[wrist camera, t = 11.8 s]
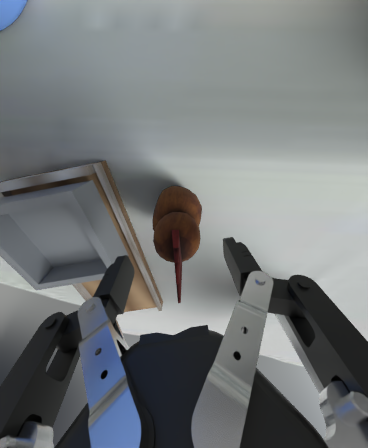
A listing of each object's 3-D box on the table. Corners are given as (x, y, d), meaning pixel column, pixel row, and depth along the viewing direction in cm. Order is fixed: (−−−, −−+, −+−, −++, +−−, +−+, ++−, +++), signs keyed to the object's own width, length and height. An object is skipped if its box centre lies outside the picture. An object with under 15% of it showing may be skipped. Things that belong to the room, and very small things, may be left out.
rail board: (105, 160, 20) (94, 164, 17) (162, 301, 35) (161, 314, 33) (6, 180, 20) (-19, 186, 18) (105, 310, 36) (99, 323, 33)
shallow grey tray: (99, 176, 19) (71, 190, 14) (131, 248, 25) (120, 276, 20) (12, 193, 20) (-45, 213, 15) (64, 259, 26) (36, 290, 21)
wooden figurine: (187, 225, 25) (198, 318, 12) (153, 216, 24) (126, 307, 11) (202, 187, 22) (239, 258, 9) (164, 174, 21) (145, 235, 8)
